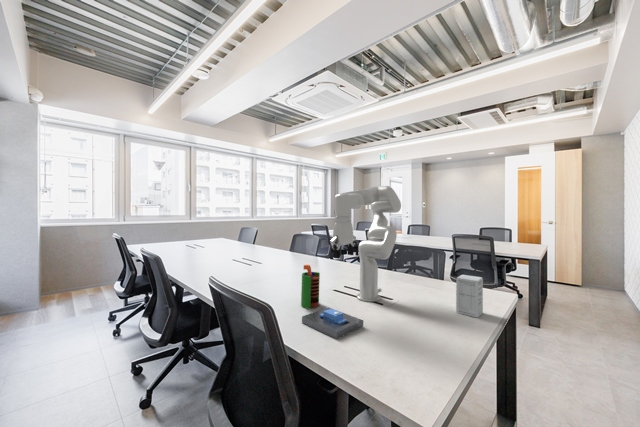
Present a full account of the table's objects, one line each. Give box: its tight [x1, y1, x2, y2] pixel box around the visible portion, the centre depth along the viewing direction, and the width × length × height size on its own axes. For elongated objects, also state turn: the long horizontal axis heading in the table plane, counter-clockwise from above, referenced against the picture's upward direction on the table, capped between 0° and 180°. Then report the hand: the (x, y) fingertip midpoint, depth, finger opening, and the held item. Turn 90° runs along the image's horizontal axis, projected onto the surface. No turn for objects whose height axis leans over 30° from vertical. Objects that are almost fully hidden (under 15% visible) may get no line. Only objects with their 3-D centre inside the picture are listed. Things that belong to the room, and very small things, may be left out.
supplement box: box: [455, 274, 484, 318], centre depth 130 cm, size 10×9×17 cm
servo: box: [320, 308, 347, 326], centre depth 114 cm, size 4×12×6 cm, turn 43°
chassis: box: [301, 307, 364, 340], centre depth 115 cm, size 16×20×3 cm
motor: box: [300, 264, 321, 309], centre depth 138 cm, size 10×9×20 cm
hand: (344, 256), depth 130 cm, fingers open, 9 cm apart
